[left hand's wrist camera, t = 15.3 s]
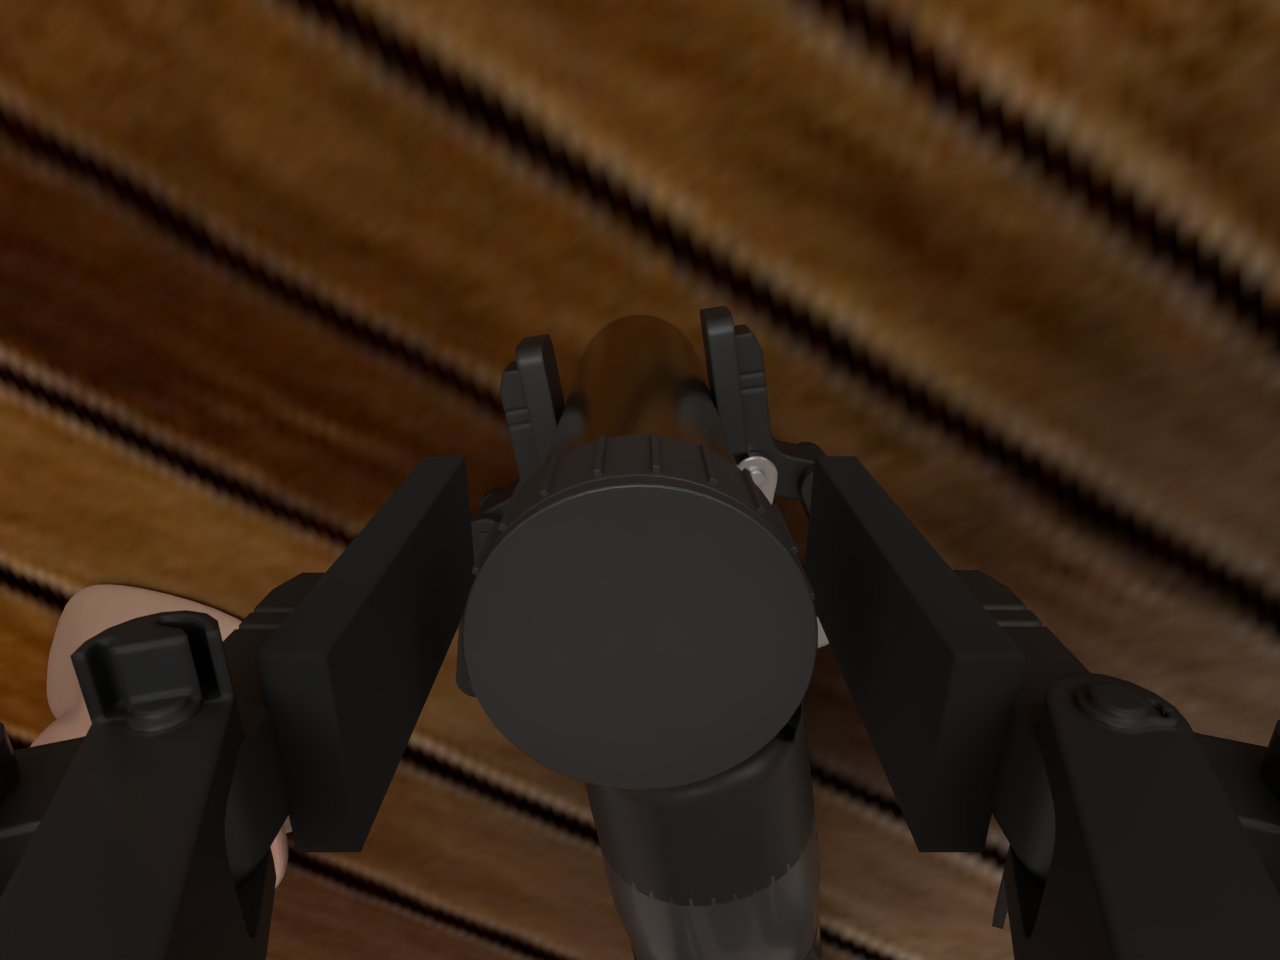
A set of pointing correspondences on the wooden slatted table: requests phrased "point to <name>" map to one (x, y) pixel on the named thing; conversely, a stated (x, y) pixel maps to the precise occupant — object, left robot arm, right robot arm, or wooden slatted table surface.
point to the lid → (640, 615)
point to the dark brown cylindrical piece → (640, 390)
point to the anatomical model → (91, 617)
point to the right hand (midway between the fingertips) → (622, 329)
